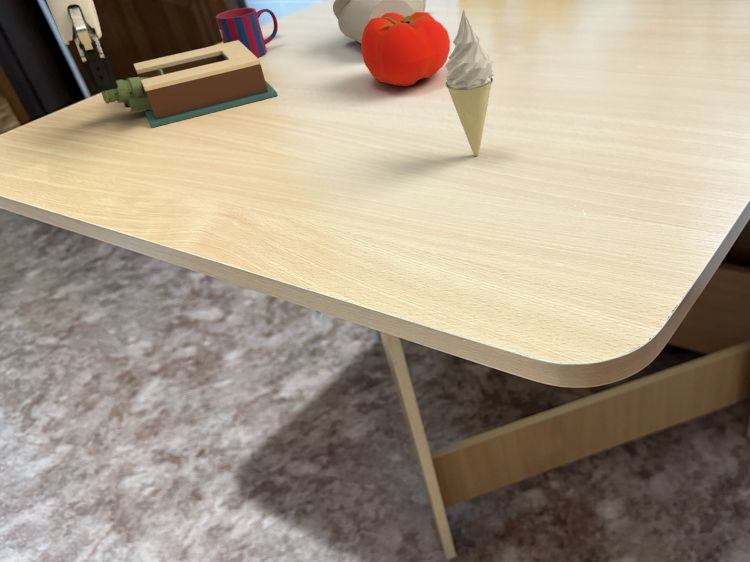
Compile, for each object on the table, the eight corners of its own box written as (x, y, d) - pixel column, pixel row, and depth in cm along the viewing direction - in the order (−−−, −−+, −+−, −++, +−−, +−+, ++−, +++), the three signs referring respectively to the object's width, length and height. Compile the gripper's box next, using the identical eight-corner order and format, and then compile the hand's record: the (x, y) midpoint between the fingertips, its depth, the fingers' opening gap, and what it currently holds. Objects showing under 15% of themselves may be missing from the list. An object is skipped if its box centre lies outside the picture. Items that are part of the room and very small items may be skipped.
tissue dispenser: (151, 128, 95) (136, 90, 92) (139, 97, 107) (125, 63, 104) (277, 95, 100) (268, 59, 97) (253, 70, 112) (243, 37, 109)
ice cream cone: (484, 167, 74) (470, 17, 65) (445, 161, 76) (426, 15, 67) (507, 149, 77) (497, 3, 68) (469, 143, 80) (454, 2, 70)
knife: (102, 77, 93) (110, 115, 96) (233, 65, 103) (238, 99, 106) (94, 71, 96) (103, 108, 99) (223, 60, 106) (228, 94, 108)
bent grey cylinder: (315, 33, 121) (359, 56, 107) (314, -36, 116) (360, -20, 101) (406, 34, 129) (458, 56, 115) (409, -30, 124) (464, -15, 110)
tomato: (471, 81, 97) (465, 13, 91) (388, 103, 93) (376, 34, 88) (432, 59, 107) (424, -3, 101) (355, 78, 103) (343, 14, 98)
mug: (224, 56, 121) (211, 14, 117) (278, 42, 124) (267, 1, 120) (234, 64, 116) (221, 20, 112) (290, 50, 119) (279, 7, 115)
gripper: (17, -61, 91) (73, 73, 101) (13, -48, 78) (77, 103, 89) (77, -69, 93) (126, 63, 104) (83, -58, 81) (137, 90, 91)
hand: (103, 81), depth 96 cm, fingers open, 9 cm apart
